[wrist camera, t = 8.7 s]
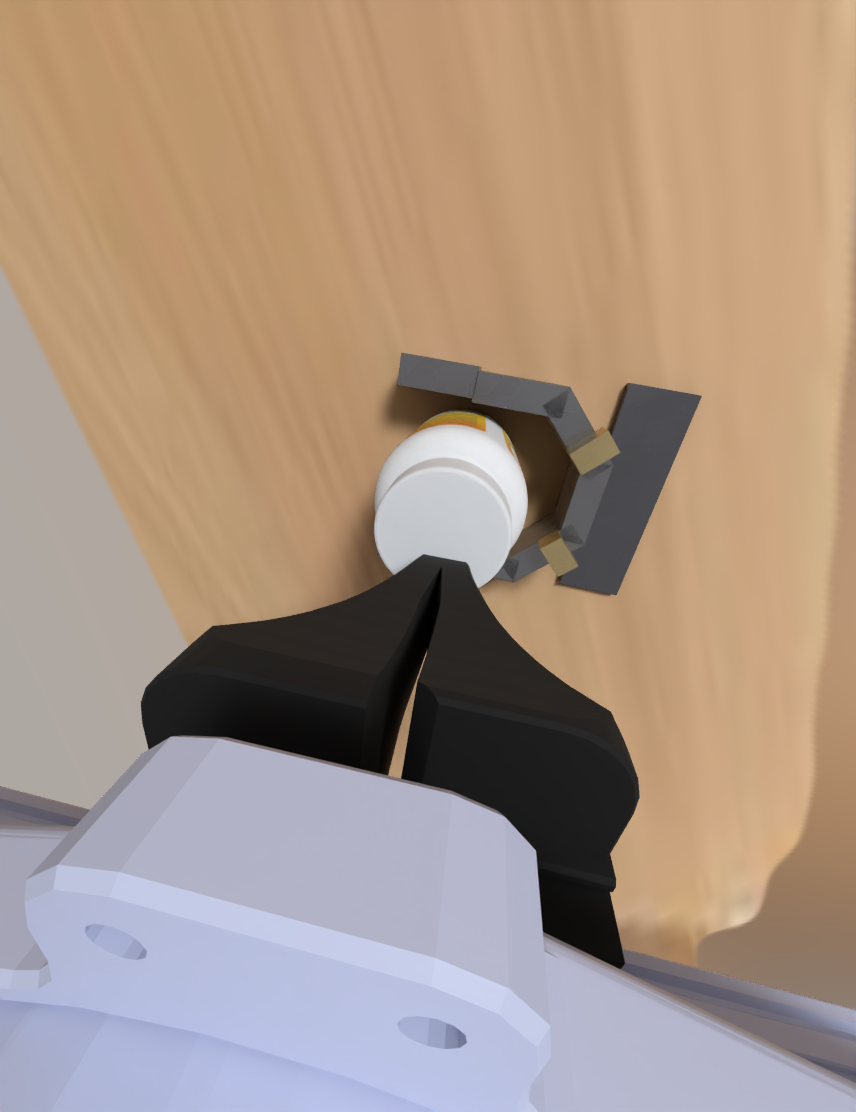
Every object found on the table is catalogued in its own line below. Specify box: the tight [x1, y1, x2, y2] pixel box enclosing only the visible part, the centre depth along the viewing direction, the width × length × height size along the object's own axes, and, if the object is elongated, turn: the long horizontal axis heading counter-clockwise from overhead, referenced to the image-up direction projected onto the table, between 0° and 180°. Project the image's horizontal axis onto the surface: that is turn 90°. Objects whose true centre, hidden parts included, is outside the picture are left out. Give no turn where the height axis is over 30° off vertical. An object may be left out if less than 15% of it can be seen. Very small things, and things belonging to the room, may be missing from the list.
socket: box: [378, 353, 702, 595], centre depth 18 cm, size 10×13×4 cm
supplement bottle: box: [374, 409, 528, 588], centre depth 16 cm, size 5×5×10 cm
